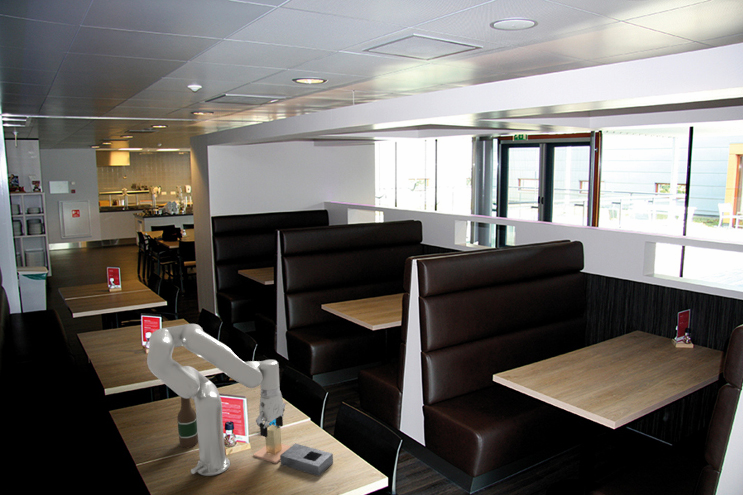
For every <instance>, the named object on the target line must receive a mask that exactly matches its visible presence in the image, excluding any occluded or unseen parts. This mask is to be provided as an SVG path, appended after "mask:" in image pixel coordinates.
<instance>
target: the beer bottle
mask: <svg viewBox="0 0 743 495" xmlns="http://www.w3.org/2000/svg"><path fill="white" fill-rule="evenodd" d="M191 404H192V403H191V398H189V399H186V398H182V397H180V410H179V411H178V414H177V428H178V429H177V430H178V441H179V445H180V446H181V447H182V448H185V447H189V448H191V447H195V446H196V445H197V444H199V442H198V432H197V419H196V410H194V408H193V407H192V405H191Z"/></svg>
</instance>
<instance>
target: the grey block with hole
mask: <svg viewBox="0 0 743 495" xmlns="http://www.w3.org/2000/svg"><path fill="white" fill-rule="evenodd" d="M291 446H292V447H290V448H289V449H288V450H286V451H285V452H284V453H282V454H281V455H280V460H281V461H280V465H281V466H283V467H286V468H290V469H293V470H297V471H300V472H304V473H307V474H310V475H314V476H316V475H317V477H319V476H321V475H322V474H323V473H325V471H326V470H327V469H328V468H329V467H331V466H332V464H333V463H334V456H333V454H334V453H333V452H328V451H324V450H321V449H318V448H314V447H311V446H305V445H303V444H299V443H294V444H293V445H291Z"/></svg>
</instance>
